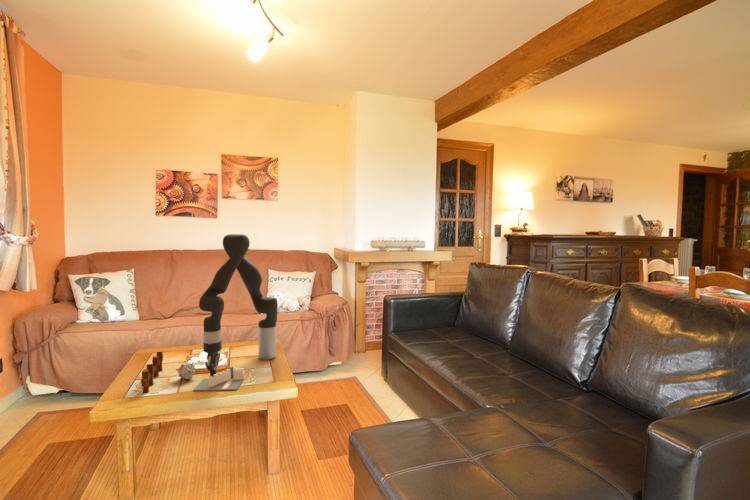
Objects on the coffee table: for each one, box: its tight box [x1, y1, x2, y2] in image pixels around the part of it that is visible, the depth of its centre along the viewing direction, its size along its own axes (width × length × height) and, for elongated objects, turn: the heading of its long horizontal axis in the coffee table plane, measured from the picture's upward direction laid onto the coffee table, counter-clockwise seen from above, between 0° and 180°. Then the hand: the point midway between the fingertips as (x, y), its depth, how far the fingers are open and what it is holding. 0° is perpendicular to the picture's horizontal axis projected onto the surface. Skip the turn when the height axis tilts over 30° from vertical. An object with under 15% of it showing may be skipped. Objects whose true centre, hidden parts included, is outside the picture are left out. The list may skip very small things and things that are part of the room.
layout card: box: [192, 377, 245, 392], centre depth 176 cm, size 13×18×1 cm
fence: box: [140, 351, 164, 394], centre depth 181 cm, size 34×3×10 cm, turn 17°
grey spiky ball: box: [175, 360, 199, 382], centre depth 182 cm, size 9×8×10 cm
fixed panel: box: [233, 367, 245, 380], centre depth 182 cm, size 4×1×5 cm, turn 94°
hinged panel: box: [208, 366, 234, 387], centre depth 177 cm, size 13×1×5 cm, turn 151°
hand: (213, 377), depth 176 cm, fingers closed
